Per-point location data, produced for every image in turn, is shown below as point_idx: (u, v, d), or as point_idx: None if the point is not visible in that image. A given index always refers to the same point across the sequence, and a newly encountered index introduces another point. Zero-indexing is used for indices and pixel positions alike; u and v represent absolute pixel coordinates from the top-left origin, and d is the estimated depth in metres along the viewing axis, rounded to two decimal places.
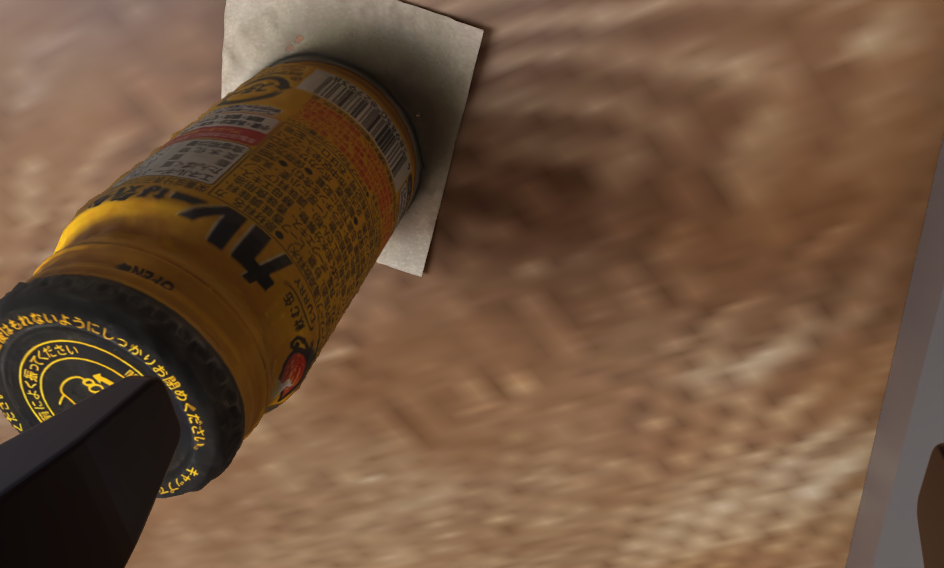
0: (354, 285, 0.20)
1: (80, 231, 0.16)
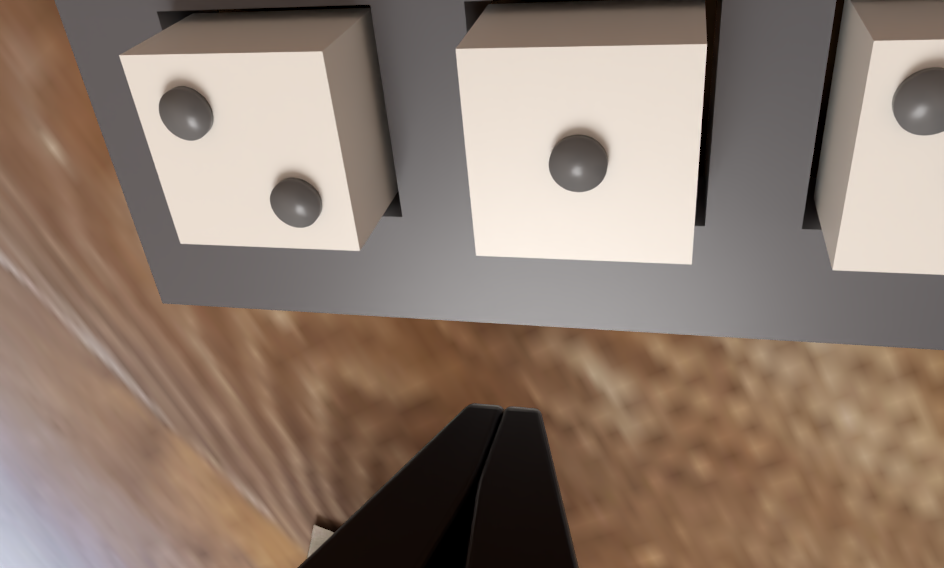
0: None
1: None
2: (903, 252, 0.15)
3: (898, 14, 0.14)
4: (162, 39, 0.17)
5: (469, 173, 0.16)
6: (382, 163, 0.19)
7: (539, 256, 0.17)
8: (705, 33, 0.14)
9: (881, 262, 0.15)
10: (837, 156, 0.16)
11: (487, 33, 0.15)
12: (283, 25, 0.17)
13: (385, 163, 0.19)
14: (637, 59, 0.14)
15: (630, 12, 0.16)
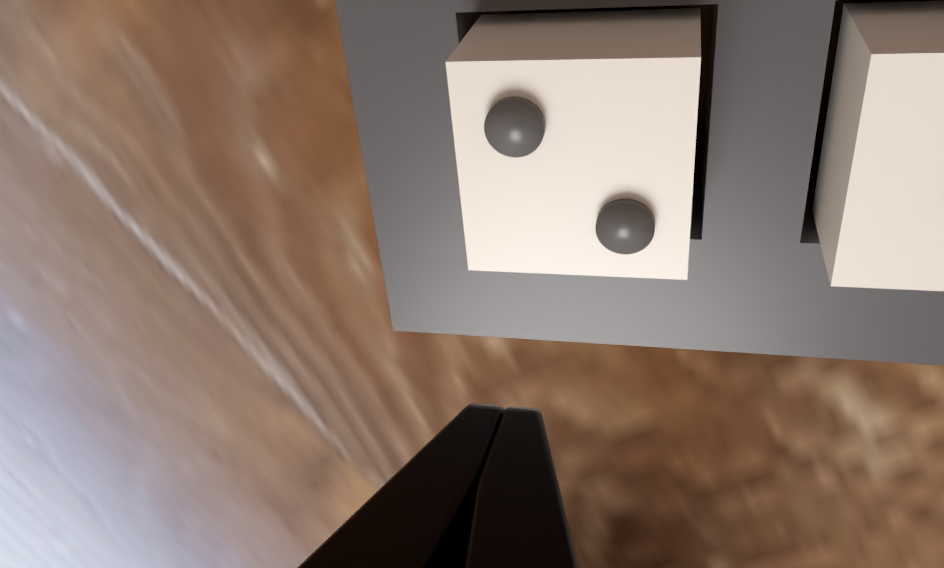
0: None
1: None
2: None
3: None
4: (480, 44, 0.15)
5: (848, 195, 0.14)
6: None
7: (910, 287, 0.15)
8: None
9: None
10: None
11: (889, 36, 0.14)
12: (612, 27, 0.15)
13: None
14: None
15: None
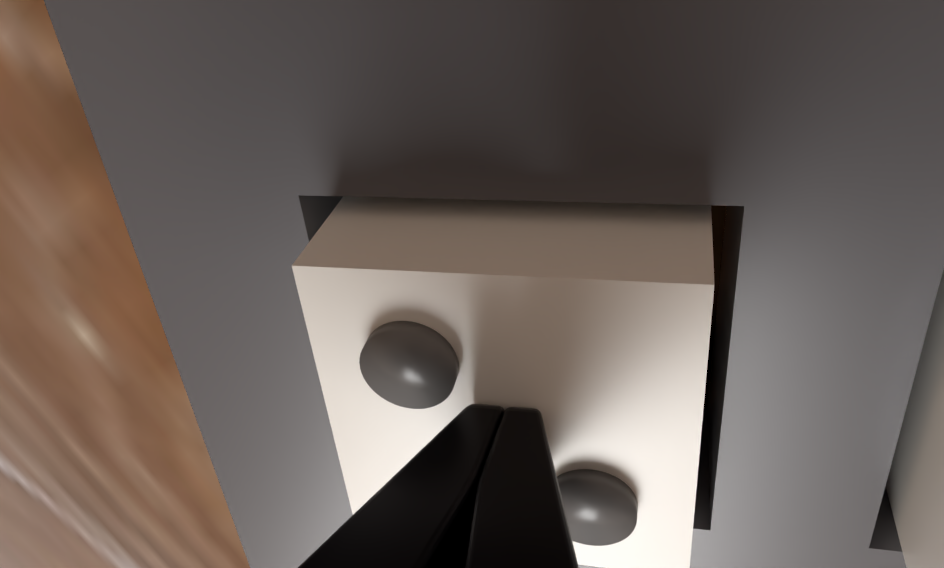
0: None
1: None
2: None
3: None
4: (357, 221, 0.10)
5: None
6: None
7: None
8: None
9: None
10: None
11: None
12: None
13: None
14: None
15: None
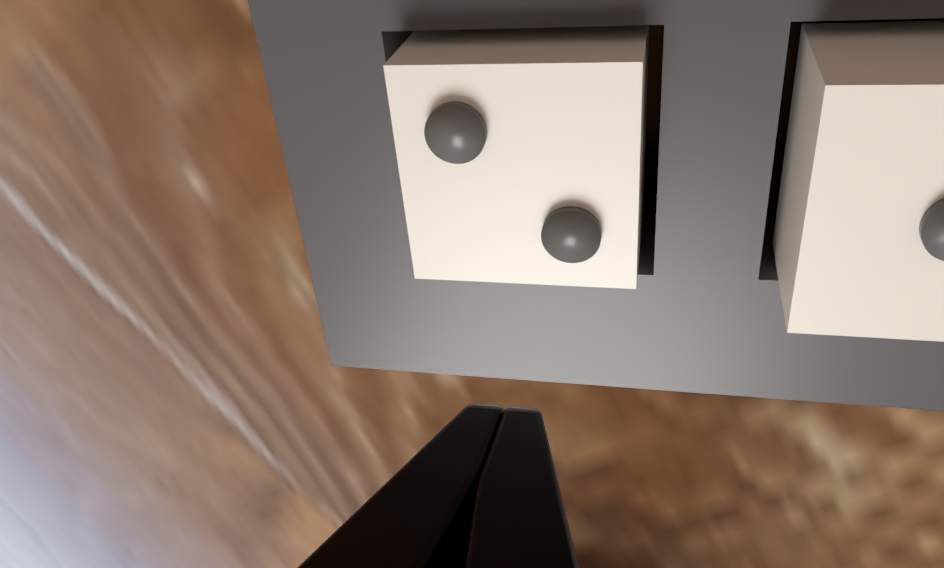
0: None
1: None
2: None
3: None
4: (421, 46, 0.15)
5: (803, 236, 0.13)
6: (642, 186, 0.17)
7: (872, 335, 0.14)
8: None
9: None
10: None
11: (847, 64, 0.12)
12: (557, 30, 0.15)
13: (642, 187, 0.17)
14: None
15: None
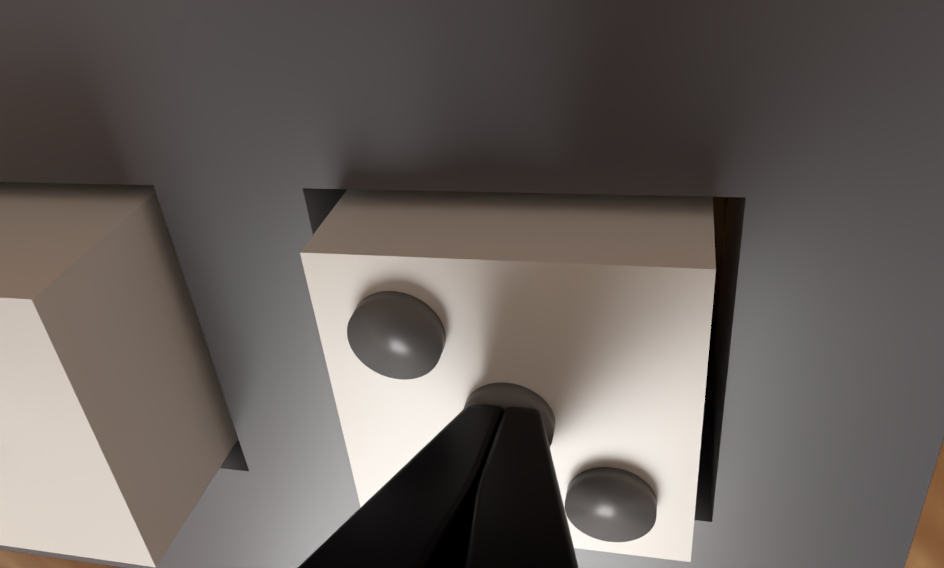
0: None
1: None
2: None
3: (393, 192, 0.10)
4: None
5: None
6: None
7: None
8: (63, 270, 0.09)
9: None
10: None
11: None
12: None
13: None
14: None
15: (43, 206, 0.11)
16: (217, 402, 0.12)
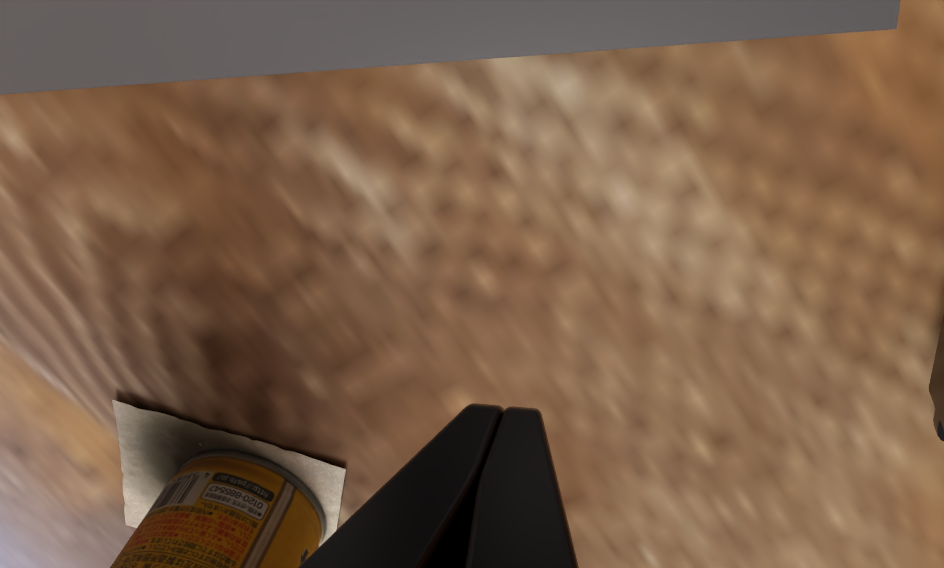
0: None
1: None
2: None
3: None
4: None
5: None
6: None
7: None
8: None
9: None
10: None
11: None
12: None
13: None
14: None
15: None
16: None
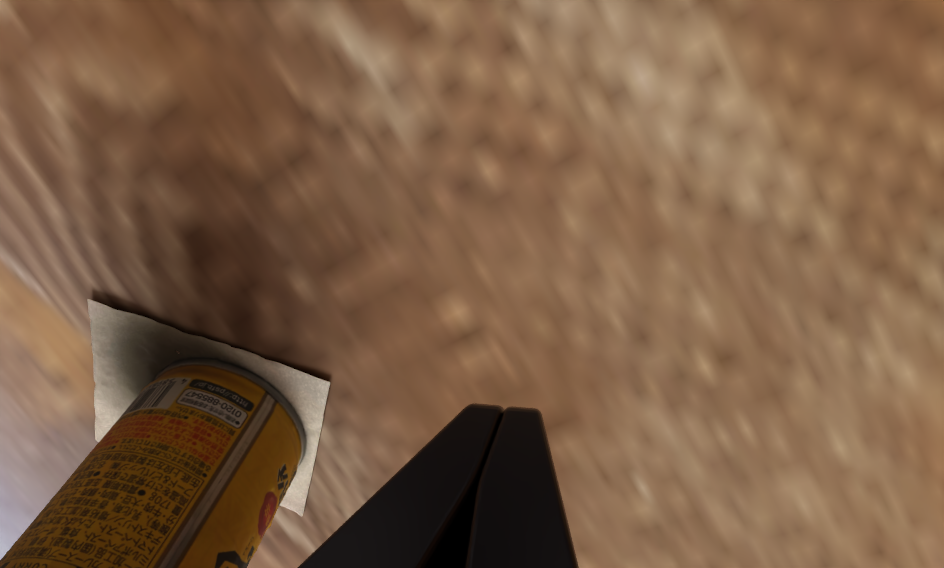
0: (132, 497, 0.22)
1: None
2: None
3: None
4: None
5: None
6: None
7: None
8: None
9: None
10: None
11: None
12: None
13: None
14: None
15: None
16: None
